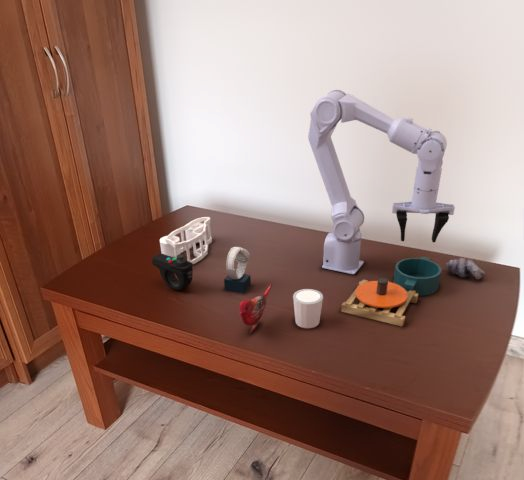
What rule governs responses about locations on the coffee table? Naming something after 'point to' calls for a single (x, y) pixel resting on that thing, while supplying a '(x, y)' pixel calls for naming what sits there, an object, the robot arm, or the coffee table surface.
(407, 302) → the rack
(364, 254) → the coffee table surface
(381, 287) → the lid
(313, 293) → the white cup
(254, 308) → the decorative bird figurine
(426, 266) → the pot
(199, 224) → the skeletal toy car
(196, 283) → the coffee table surface
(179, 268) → the controller
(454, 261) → the seashell
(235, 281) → the watch
